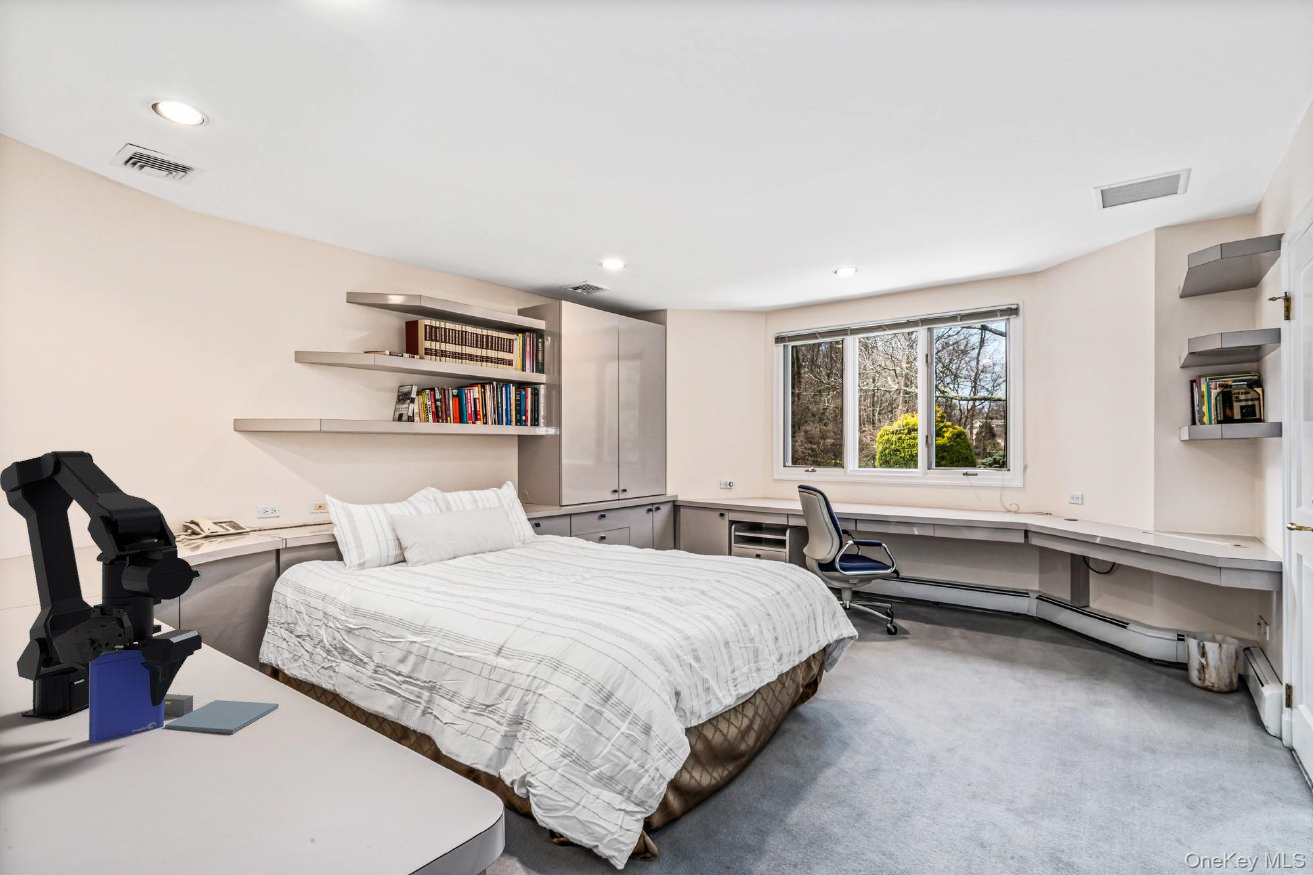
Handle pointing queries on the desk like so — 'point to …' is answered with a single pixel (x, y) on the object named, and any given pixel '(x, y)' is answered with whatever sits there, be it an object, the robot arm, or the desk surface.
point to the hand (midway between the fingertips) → (127, 704)
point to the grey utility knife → (178, 704)
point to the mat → (223, 716)
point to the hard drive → (121, 696)
